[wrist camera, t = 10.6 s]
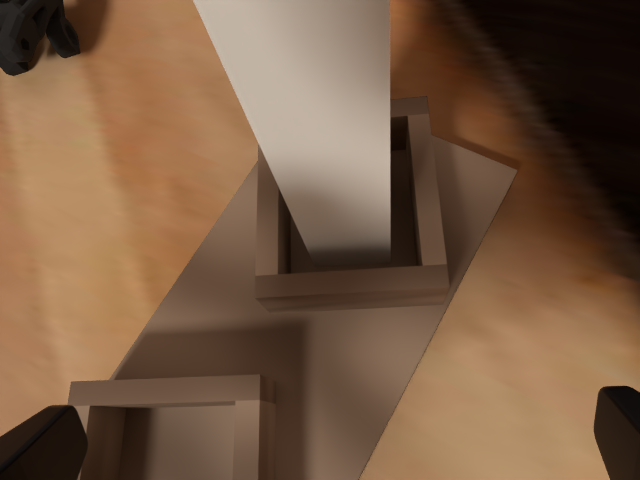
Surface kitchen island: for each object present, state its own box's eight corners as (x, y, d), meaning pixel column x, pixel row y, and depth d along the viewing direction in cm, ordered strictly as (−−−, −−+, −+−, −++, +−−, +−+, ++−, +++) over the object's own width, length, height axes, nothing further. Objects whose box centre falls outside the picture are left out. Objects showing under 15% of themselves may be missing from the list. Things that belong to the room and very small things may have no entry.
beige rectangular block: (390, 262, 20) (389, -133, 6) (315, 266, 20) (148, -98, 6) (384, 172, 21) (372, -315, 7) (314, 177, 22) (176, -279, 8)
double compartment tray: (227, 733, 16) (186, 808, 13) (14, 542, 19) (-64, 564, 16) (512, 181, 21) (533, 137, 18) (312, 97, 24) (300, 46, 21)
